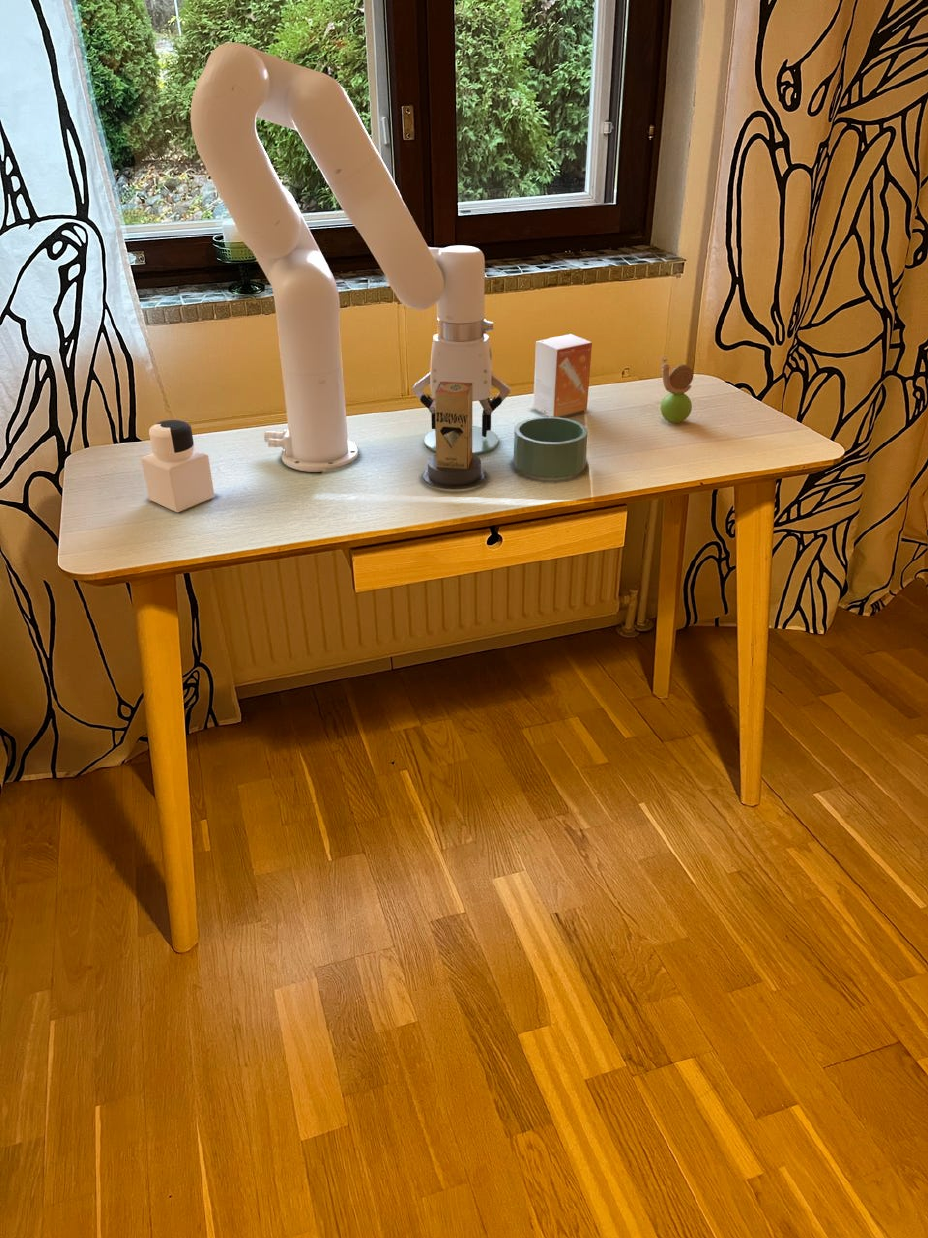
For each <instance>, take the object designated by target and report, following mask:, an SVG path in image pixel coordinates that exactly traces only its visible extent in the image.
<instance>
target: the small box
mask: <svg viewBox="0 0 928 1238" xmlns="http://www.w3.org/2000/svg"><path fill="white" fill-rule="evenodd" d="M592 347H593V342H592V341H590V340H587V339H585V338H583V337H580V336H578V335H575V334H573V333H569V334H568V333H567V334H564V335H560V336H553V337H549V338H546V339H540V340H536V341H535V358H534V380H533V381H534V382H533V405H532V406H533V407H532V408H533V409H534V410H537V411H539V412H541V413H542V414H545V415H546V416H547V417H562V416H566V415H569V414H574V413H578V412H581V411H583V413H587V411H588V401H589V387H590V385H589V384H590V375H591V364H592V363H591V362H592Z"/></svg>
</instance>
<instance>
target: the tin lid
mask: <svg viewBox="0 0 928 1238" xmlns="http://www.w3.org/2000/svg"><path fill="white" fill-rule="evenodd" d="M423 442H424V445H425V447H426V448H427V449H428V450H430V451H432V452H434V453H436V435H435V429H432V430H431V431H429V432H428V433H427V434H426V435H424V440H423ZM498 445H499V437H498V435H497V434H496V432H493V431H492V430H491V431H489V430H487V435H486V437H483V436H482V426H477V425H472V454H474V455H476V456H477V455H478V456H479V455H482V454H483V455H484V454H486V453H488V452H491V451H493V450H494V449H495V448H497V446H498Z"/></svg>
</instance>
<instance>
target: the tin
mask: <svg viewBox="0 0 928 1238" xmlns="http://www.w3.org/2000/svg"><path fill="white" fill-rule="evenodd" d="M513 435H514V437H513V438H514V439H513V466H514V468H515V469H516V470H517V471H519V472H520V473H522V474H524V475H528V476H530V477H535V478H540V479H562V478H563V479H564V478H569V477H573V476H575V475H578V474H579V473H581V472H583V471H584V469H585V468H586V463H587V462H586V461H587V448H588V428H587V427H586V426H585V424H583V423H581V422H580V421H578V420H575V419H570V418H568V417H567V418H566V417H561V416H559V417H550V416H538V417H531V418H527V419H525V420H522V421H520V422H518V423H517V424H516V425H515V426H514V433H513Z"/></svg>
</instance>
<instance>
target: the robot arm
mask: <svg viewBox="0 0 928 1238" xmlns="http://www.w3.org/2000/svg"><path fill="white" fill-rule="evenodd" d="M190 106H191V107H190V126H191V133H192V137H193V142H194V144H195V147H196V150H197V152H198V155H199V157H200V159H201V161H202V163H203V165H204V167H205V169H206V171H207V172H208V175H209V176H210V178H211V181H212V182H213V184H214V186H215V188H216V190H217V193H218V195H219V196H220V198H221V200H222V202H223V204H224V206H225V207H226V209H227V211H228V214H229V215H230V217H231V219H232V221H233V223H234V225H235V228H236V230H237V233H238V235H239V237H240V239H241V240H242V242H243V243H244V245H245V246H246V247H247V248H248V249H249V250H251V252H252V253H253V255H254V257H255V259H256V261H257V263H258V265H259V266H260V268H261V271H262V272H263V273H264V275H265V277H266V279H267V281H268V283H269V284H270V287H271V289H272V295H273V302H274V309H275V310H274V311H275V315H276V316H275V317H276V326H277V336H278V346H279V347H278V349H279V357H280V366H281V372H282V373H281V374H282V383H283V392H284V401H285V411H286V412H285V413H286V420H287V421H286V422H287V429H283V431H277V430H265V431H264V434H263V441H264V442H265V443H267V447H268V448H281V449H282V450H281V461H282V463H283V464H284V465H286V466H287V467H288V468H290V469H293V470H296V471H301V472H308V473H321V472H324V471H327V470H332V469H338V468H341V467H345V466H346V465H348V464H350V463H352V462H354V461H355V460H356V459H357V458H358V456H359V449H358V446H357V444H355V443H354V442H352V441H351V440H349V437H348V436H349V435H348V422H347V409H346V398H345V397H346V394H345V379H344V367H343V355H342V340H341V339H342V338H341V301H340V294H339V288H338V285H337V282H336V280H335V277H334V275H333V273H332V271H331V269H330V267H329V264H328V263H327V261H326V259H325V257H324V255H323V254H322V251H321V250H320V247H319V245H318V244H317V242H316V240H315V238H314V236H313V234H312V231H311V229H309V226H308V224H307V222H306V219H305V218H304V216H303V214H302V212H301V210H300V208H299V206H298V204H297V202H296V201H295V198H294V197H293V195H292V194H291V192H290V191H289V190H288V189H287V188H286V187H284V186H283V184H282V182H281V180H280V179H279V176H278V174H277V173H276V170H275V169H274V167H273V165H272V163H271V160H270V158H269V155H268V154H267V151H266V150H265V148H264V146H263V144H262V142H261V140H260V138H259V136H258V131H257V118H258V119H260V120H262V121H266V122H269V123H271V124H272V123H273V124H275V125H278V126H281V127H284V128H288V129H291V130H294V131H296V132H297V133H298V135H299V137H300V138H301V140H302V142H303V143H304V145H305V147H306V149H307V150H308V152H309V154H310V155H311V158H312V159H313V161H314V163H315V164H316V166H317V168H318V169H319V171H320V173H321V174H322V176H323V178H324V180H325V181H326V183H327V185H328V187H329V189H330V190H331V192H332V194H333V195H334V197H335V199H336V201H337V203H338V204H339V206H340V207H341V209H342V211H343V212H344V214H345V216H346V217H347V219H348V220H349V221H350V223H351V224H352V225H353V226H354V228H355V229H356V230H357V233H359V234H360V236H361V237H362V239H363V240H364V242H365V243H366V245H367V247H368V248H369V250H370V252H371V254H372V255H373V257H374V258H375V261H376V262H377V264H378V265H379V268H380V269H381V271H382V272H383V274H384V276H385V279H386V281H387V284H388V286H389V287H390V289H391V290H392V291H393V293H394V294H395V296H396V297H397V299H398V301H399V302H400V303H401V304H402V305H403V306H405V307H407V308H408V309H411V310H415V311H423V310H428V309H430V308H432V307H433V306H435V305H436V323H437V324H436V325H437V330H436V332H437V333H436V334H434V335H433V338H432V344H431V352H430V353H431V354H430V366H429V367H430V368H429V369H430V370H429V373H427V374H426V375H424V377H422V378H421V379H419V380H418V381H417V382H415V383H414V384H412V388H411V391H412V393H413V394H414V395H415V396H416V398H418V399H419V401H420V402H421V404H423V405H424V407H425V408H426V409H428V412H429V413H430V415H431V417H430V418H431V430H435V435H436V423H435V391H436V389H437V387H438V386H439V384H440V382H460V383H472V401H478V402H479V404H480V405H481V408H482V415H481V427H482V436H483V437H486V435H487V430H489V431H492V413H493V412H494V411H495V410H497V408H499V406H500V405H501V404H502V403H503V401H504V400H505V399H506V398H507V397H508V396H509V395H510V394H511V387H510V385H508V384H507V383H506V382H504V381H503V380H502V379H500V378H499V377H498V376H496V375H495V374H494V373H493V355H492V347H491V346H492V345H491V340H490V336H489V335H488V334H486V333H487V332H494V321H489V320H488V321H487V319H485V318H486V317H485V284H486V282H485V280H486V279H485V278H486V277H485V276H486V274H485V273H486V270H485V269H486V267H485V266H486V261H485V255H484V253H483V251H482V250H481V249H479V248H478V247H476V246H471V245H450V246H446V247H430V246H428V244H427V242H426V240H425V239H424V237H423V235H422V232H421V231H420V230H419V228H418V225H417V224H416V222H415V220H414V218H413V216H412V215H411V213H410V211H409V209H408V207H407V205H406V203H405V201H404V200H403V197H402V195H401V193H400V190H399V189H398V186H397V185H396V182H395V181H394V178H393V176H392V175H391V174H390V171H389V170H388V168H387V165H386V164H385V163H384V161H383V159H382V157H381V155H380V153H379V151H378V149H377V148H376V145H375V144H374V142H373V140H372V138H371V136H370V134H369V132H368V131H367V129H366V127H365V125H364V123H363V122H362V119H361V118H360V115H359V114H358V112H357V110H356V108H355V106H354V104H353V102H352V101H351V99H350V97H349V95H348V94H347V92H346V90H345V89H344V87H343V86H342V85H341V83H340V82H338V81H337V80H336V79H335V78H333V77H331V75H328V74H326V73H325V72H321V71H318V70H316V69H312V68H309V67H305V66H303V65H299V64H296V63H294V62H292V61H288V60H286V59H283V58H282V57H278V56H275V55H272V54H270V53H267V52H264V51H263V50H260V49H257V48H254V47H252V46H250V45H247V44H245V43H240V42H236V41H235V42H233V41H230V42H224V43H222V44H220V45H218V46H217V47H215V48H214V50H212V51H211V53H210V54H209V56H208V58H207V60H206V63H205V66H204V68H203V70H202V72H201V75H200V76H199V78H198V81H197V83H196V85H195V88H194V91H193V94H192V99H191V105H190ZM428 386H429V389H430V395H431V396H432V397H431V396H430V395H429V394H428V393H427V392H426V391H425V390H424V389H425V388H426V387H428ZM493 387H494V388H495V389H497V390H498V391H499V392H498V393H497V394H496V395H495V396H494V397H493V398H492V399H491V398H490V397H491V395H492V394H491V393H492V389H493ZM265 443H264V444H265Z"/></svg>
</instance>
